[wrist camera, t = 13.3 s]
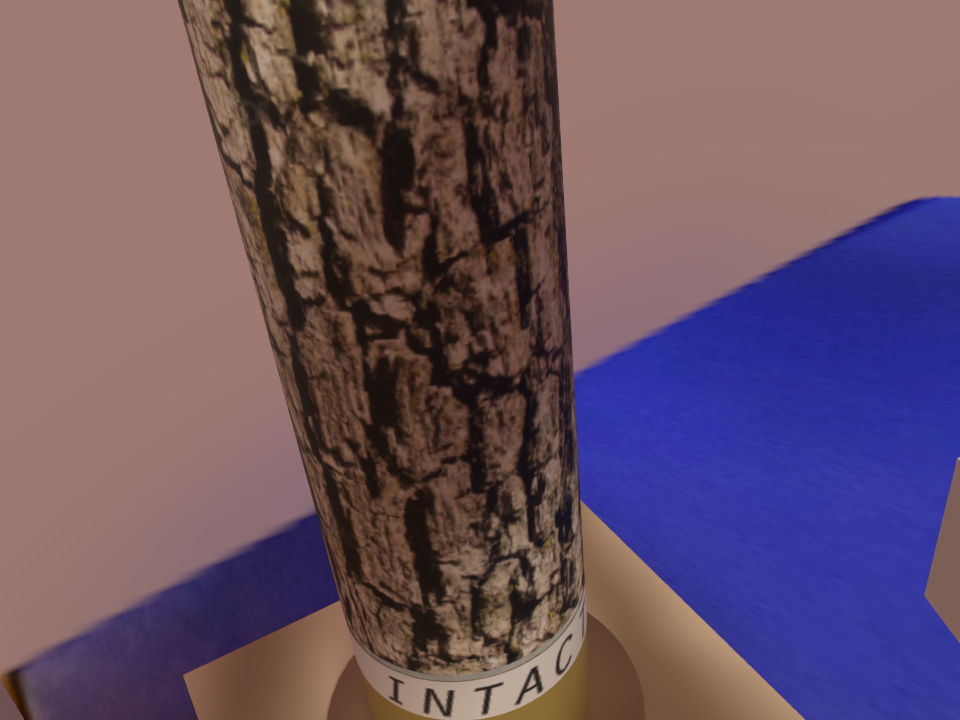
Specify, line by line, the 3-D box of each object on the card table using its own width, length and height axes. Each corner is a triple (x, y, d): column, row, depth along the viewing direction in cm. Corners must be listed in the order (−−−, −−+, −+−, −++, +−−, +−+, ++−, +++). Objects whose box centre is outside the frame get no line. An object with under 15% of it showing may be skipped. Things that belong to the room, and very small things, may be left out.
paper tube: (349, 669, 31) (105, -206, 17) (531, 593, 33) (446, -248, 19) (420, 851, 25) (148, -211, 12) (633, 748, 27) (618, -268, 13)
